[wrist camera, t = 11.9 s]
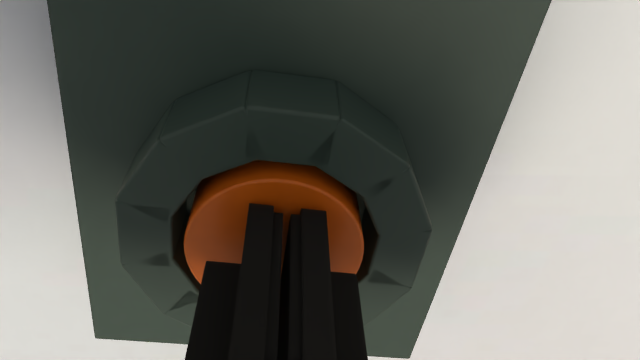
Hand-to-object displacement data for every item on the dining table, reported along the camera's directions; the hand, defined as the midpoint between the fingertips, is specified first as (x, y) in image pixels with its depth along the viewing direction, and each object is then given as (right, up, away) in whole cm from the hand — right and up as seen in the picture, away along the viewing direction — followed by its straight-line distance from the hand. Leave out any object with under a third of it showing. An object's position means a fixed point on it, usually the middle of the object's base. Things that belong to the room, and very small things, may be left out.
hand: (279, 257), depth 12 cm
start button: (0, +1, +1) cm, 2 cm away
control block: (0, +2, +3) cm, 4 cm away
